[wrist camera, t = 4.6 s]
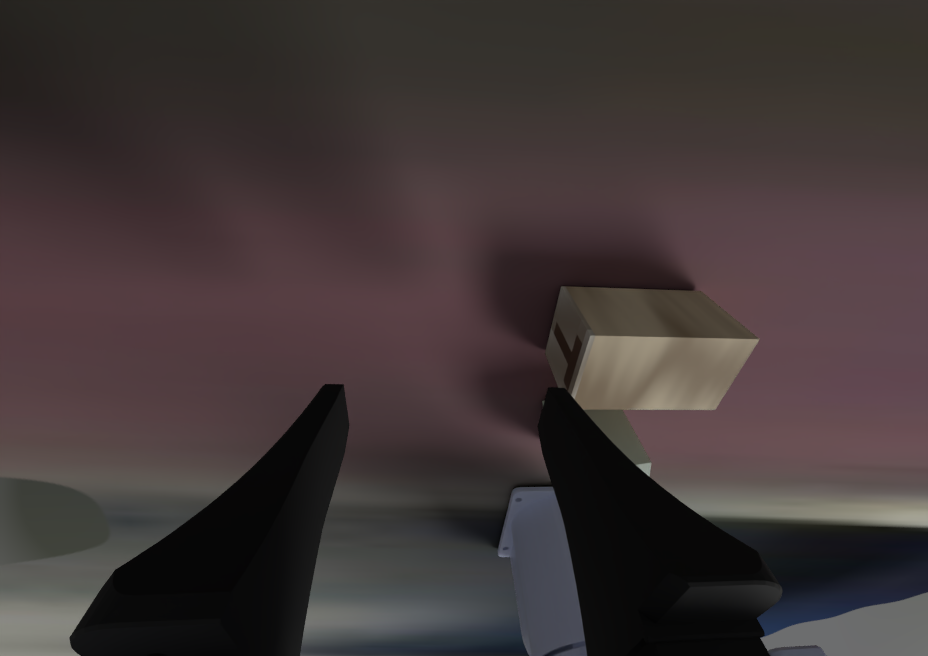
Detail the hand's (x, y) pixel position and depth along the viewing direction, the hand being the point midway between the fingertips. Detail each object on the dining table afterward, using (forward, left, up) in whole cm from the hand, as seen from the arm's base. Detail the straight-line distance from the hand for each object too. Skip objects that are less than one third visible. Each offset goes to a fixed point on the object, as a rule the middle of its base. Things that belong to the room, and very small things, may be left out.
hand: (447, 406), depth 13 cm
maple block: (0, -5, -4) cm, 7 cm away
